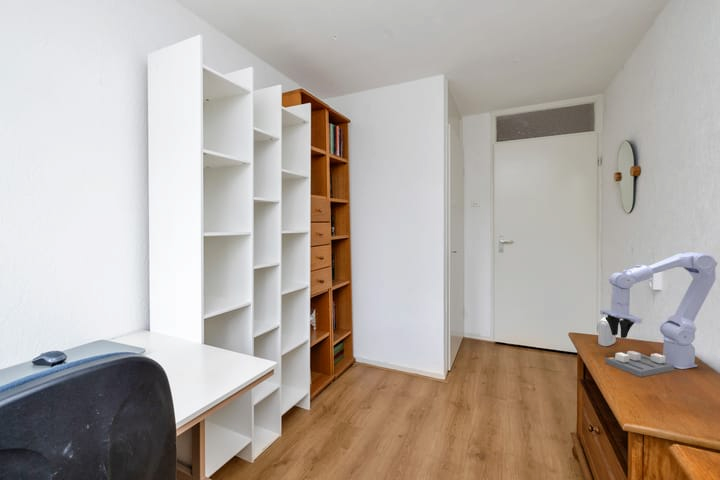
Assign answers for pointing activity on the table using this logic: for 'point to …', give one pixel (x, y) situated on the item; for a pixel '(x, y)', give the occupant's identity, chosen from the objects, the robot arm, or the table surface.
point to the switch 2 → (658, 358)
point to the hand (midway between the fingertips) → (619, 336)
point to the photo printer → (605, 333)
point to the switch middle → (634, 355)
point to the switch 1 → (622, 357)
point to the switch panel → (641, 366)
